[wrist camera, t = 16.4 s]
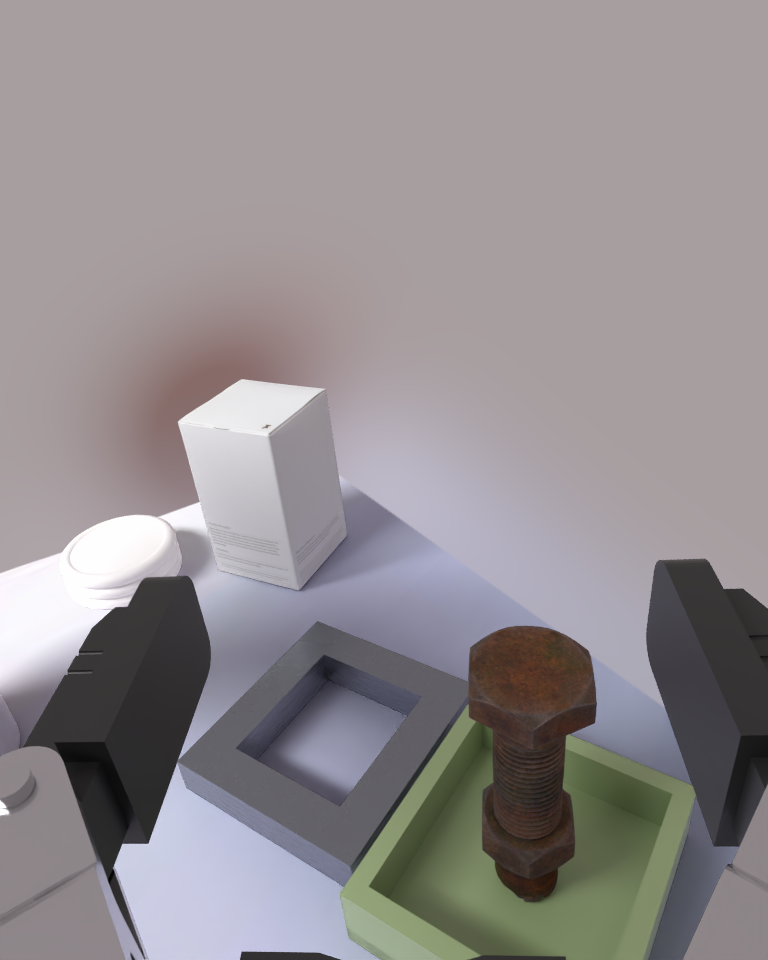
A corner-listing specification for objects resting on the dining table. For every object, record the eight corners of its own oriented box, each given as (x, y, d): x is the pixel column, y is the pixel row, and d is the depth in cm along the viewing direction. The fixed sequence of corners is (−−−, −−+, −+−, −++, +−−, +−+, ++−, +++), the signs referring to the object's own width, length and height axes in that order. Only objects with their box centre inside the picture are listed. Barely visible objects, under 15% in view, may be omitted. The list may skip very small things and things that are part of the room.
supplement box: (351, 534, 67) (330, 386, 59) (300, 593, 60) (269, 435, 53) (270, 517, 71) (241, 375, 63) (214, 570, 64) (174, 419, 57)
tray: (349, 938, 37) (339, 894, 34) (475, 739, 46) (473, 695, 44) (602, 1107, 30) (609, 1065, 28) (687, 833, 40) (697, 787, 38)
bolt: (546, 812, 40) (555, 608, 33) (602, 895, 36) (628, 683, 29) (453, 856, 39) (440, 651, 31) (501, 947, 35) (499, 737, 27)
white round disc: (179, 532, 70) (171, 502, 69) (188, 593, 62) (178, 561, 60) (72, 558, 68) (61, 528, 66) (66, 625, 60) (52, 592, 58)
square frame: (186, 787, 45) (176, 761, 44) (322, 646, 55) (317, 621, 53) (355, 893, 38) (350, 866, 37) (475, 711, 48) (474, 684, 47)
